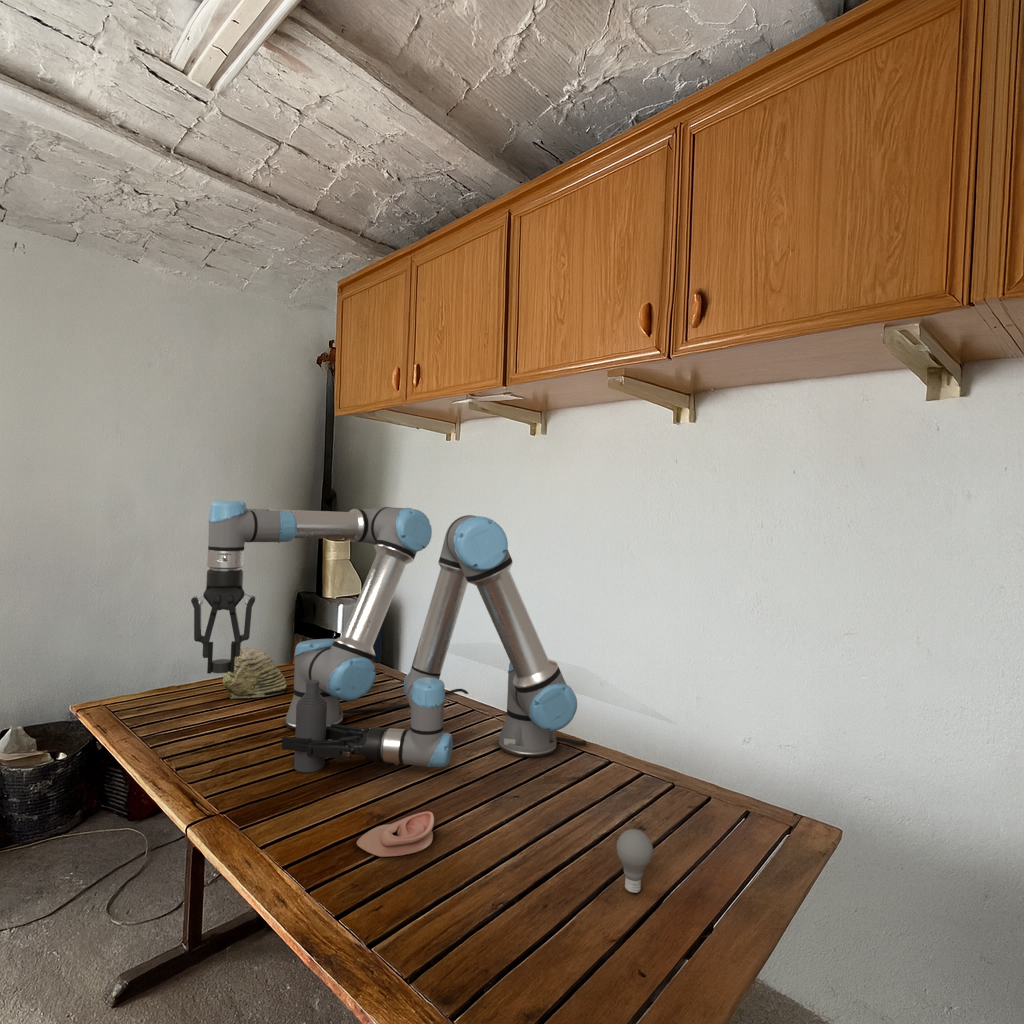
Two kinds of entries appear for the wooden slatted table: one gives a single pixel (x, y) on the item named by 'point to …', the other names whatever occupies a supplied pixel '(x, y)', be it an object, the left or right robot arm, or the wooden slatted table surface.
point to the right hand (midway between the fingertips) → (290, 737)
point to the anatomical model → (399, 836)
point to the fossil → (254, 675)
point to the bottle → (310, 725)
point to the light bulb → (634, 857)
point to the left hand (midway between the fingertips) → (220, 671)
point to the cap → (220, 666)
